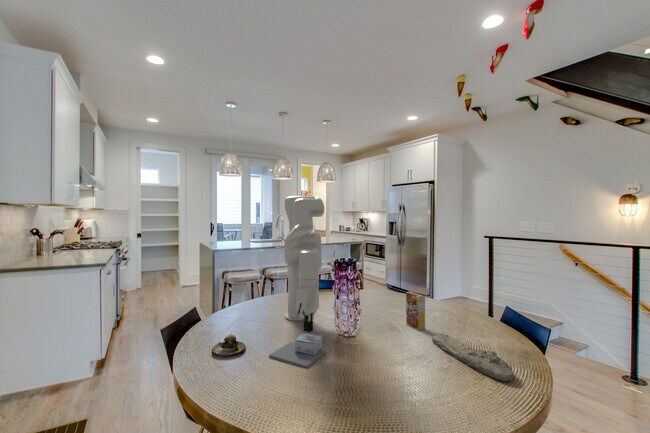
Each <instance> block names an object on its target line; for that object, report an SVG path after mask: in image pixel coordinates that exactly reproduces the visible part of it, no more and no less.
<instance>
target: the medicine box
mask: <svg viewBox="0 0 650 433" xmlns="http://www.w3.org/2000/svg"><path fill="white" fill-rule="evenodd" d="M294 343H295V352H296V353H303V354H310V355H316V354H317V352H318V351H319V349H320V350H321V348H322V347H323V334H315V333H311V332H307V333H306V332H302V333H301V334H300V335H299V336H298V337H297V338H296V339H295V342H294Z"/></svg>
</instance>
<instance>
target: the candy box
mask: <svg viewBox="0 0 650 433" xmlns="http://www.w3.org/2000/svg"><path fill="white" fill-rule="evenodd" d="M405 320H406V321H405V324H406V325H407V326H409V327H412V328H413V329H415V330H417V331H423V330H425V329H426V295H423V294H421V293H417V292H415V291H413V290H412V291H406V292H405Z"/></svg>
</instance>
